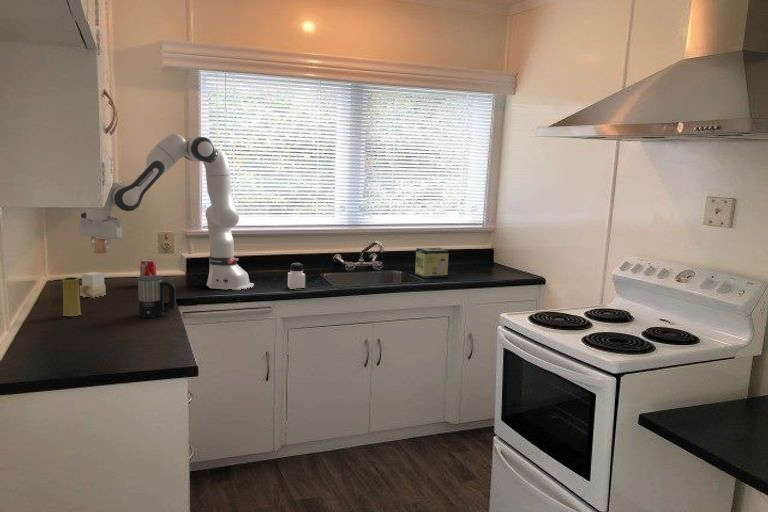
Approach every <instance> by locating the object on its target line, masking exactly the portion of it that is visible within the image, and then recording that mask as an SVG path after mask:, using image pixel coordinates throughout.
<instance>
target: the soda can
mask: <svg viewBox="0 0 768 512" xmlns="http://www.w3.org/2000/svg"><path fill="white" fill-rule="evenodd" d="M139 265H140V266H139V272H140V273H139V275H140V276H139V277H141V276H152V275H155V276H157V263H156V261H155V259H153V258H145V259H141V261H140V264H139Z"/></svg>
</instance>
